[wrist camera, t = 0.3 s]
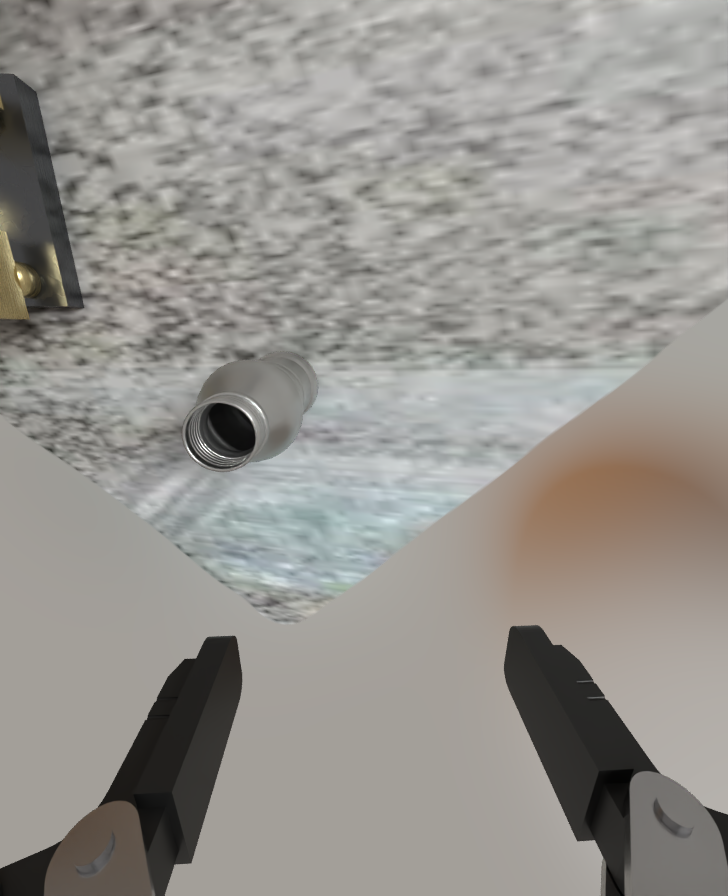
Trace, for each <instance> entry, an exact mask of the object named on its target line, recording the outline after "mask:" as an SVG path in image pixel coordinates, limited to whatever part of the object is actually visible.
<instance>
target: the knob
mask: <svg viewBox="0 0 728 896" xmlns="http://www.w3.org/2000/svg"><path fill="white" fill-rule="evenodd" d="M40 290H41V280H40V277H39V275H38V273H37V272H36V271H35V270H34V269H33V268H32V267H31V266H29V265H28V264H25V263H22V262H18V261H14V259H13V255H12V251H11V248H10V244H9V240H8V237H7V233H6V232H4V231H1V230H0V319H30V318H29V315H28V311H27V307H26V304H25V300H24V298H33V297H35V296H37V295H38V294H39V292H40Z"/></svg>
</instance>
